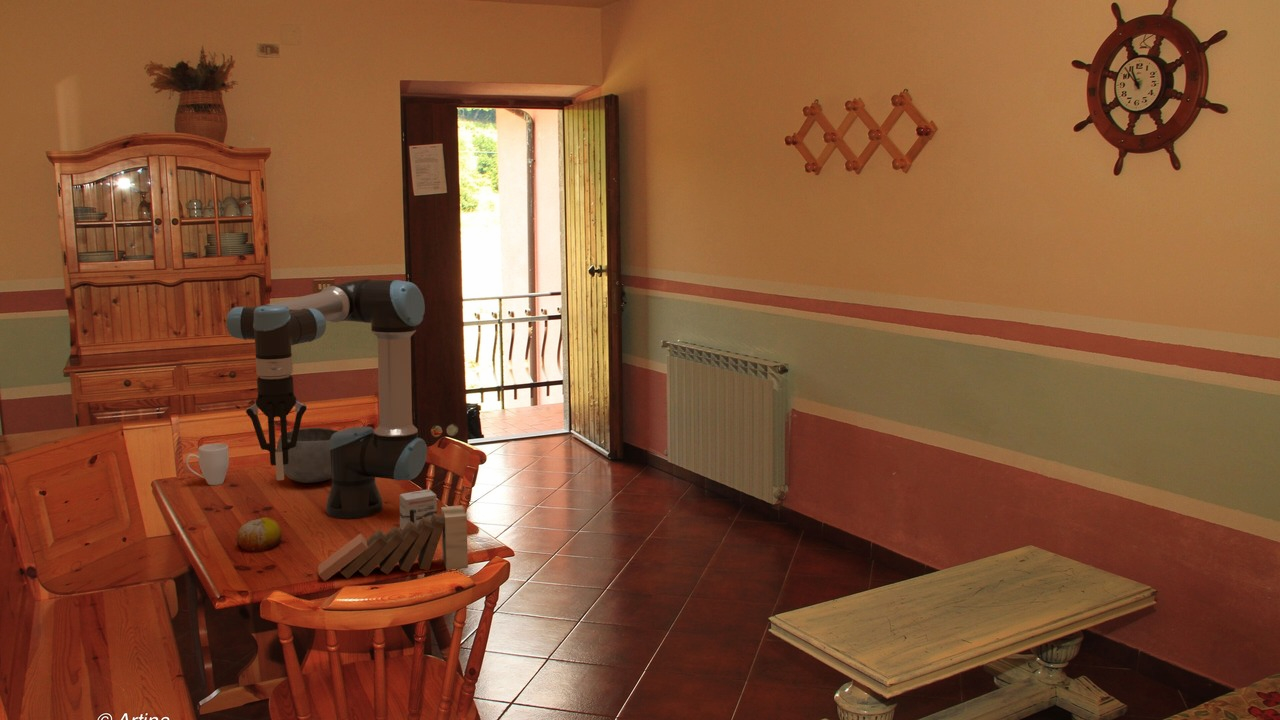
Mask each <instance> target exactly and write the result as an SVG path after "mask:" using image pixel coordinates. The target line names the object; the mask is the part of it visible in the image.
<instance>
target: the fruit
mask: <svg viewBox="0 0 1280 720" xmlns="http://www.w3.org/2000/svg"><path fill="white" fill-rule="evenodd" d="M282 538H283V533H282V529H281V526H280V525H279V523H278V522H277V521H275V520H274V519H273V518H271V517H265V516H264V517H260V518H257V519H253V520H252V519H251V520H248V521H247V522H246V523H245V524H242V525H241V526H240V528H239V529H238V531H237V532H236V537H235V539H236V542H237V546H239V547H240V548H242V550H243V551H247V552H250V553H252V552H264V551H268V550H271V549H274V548H275V547H277V546H279V545H280V544H281V542H282Z"/></svg>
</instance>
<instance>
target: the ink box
mask: <svg viewBox="0 0 1280 720" xmlns="http://www.w3.org/2000/svg"><path fill="white" fill-rule="evenodd" d="M437 500H438V499H437V494H436V493H435V492H434V491H433V490H431V489H428V488H427V489H423V490H418V491H410V492H405V493H400V494H399V529H400V530H401V531H402V530H403V529H404V528H405V526H406V525H407V524H408V523H409V521H411V522H413V523H415V524H416V525H418V524H419V522H420V520H421V518H422V517H425V518H427V519H430V520H431V518H432V515H433V513H435V514H438V504H437V503H438V501H437Z"/></svg>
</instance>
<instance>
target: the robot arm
mask: <svg viewBox="0 0 1280 720" xmlns="http://www.w3.org/2000/svg"><path fill="white" fill-rule="evenodd" d="M425 310H426V306H425V298H424V295H423V294H422V291H421V289H419V287H418V285H416V284H415V283H413V282H411V281H404V280H399V279H394V280H393V279H391V280H390V279H370V278H369V279H368V278H367V279H366V278H364V279H363V278H361V279H354V280H350V281H346V282H342V283H338V284H334V285H329V286H326V287H324V288H322V289H321V291H319V292H316V293H311V294H306V295H302V296H297V297H294V298H290V299H285V300H280V301H275V302H270V303H267V304H262V305H261V304H260V305H257V306H245V305H244V306H236V307H233V308H231V310H229V312H228V313H227V316H226V321H225V323H226V329H227V331H228V332H227V333H229V335H230V336H231V337H232V338H235V339H240V340H244V341H247V340H251V341H253V340H254V344H255V369H256V371H255V372H256V376H258V377H257V379H256V386H257V390H256V391H257V398H256V400H255V403H254V404H253V405H250V406H248V407H246V410H245V413H246V414H247V416H248V417H249V418H250V419H251V422H252V425H253V426H252V427H253V428H254V431H255V434H256V437H257V441H258V443H259V447H260V449H261V450H262V451H264V450H265V451H268V452H269V462H270V465H271V466H275V472H276V481H284V479H285V474H284V464H288V462H289V458H288V450H289V449H291V448H294V447H296V443H297V438H298V433H299V429H301V427H300V426H301V422H302V419H303V416H304V414H305V412H306V411H307V409H308V408H307V406H308V405H307V404H306V403H302V402H300V401H298V400H297V397H296V396H295V392H294V390H295V389H294V377H293V376H292V374H293V372H294V369H293V355H292V354H293V353H292V346H295V345H300V344H304V343H310V342H314V341H315V340H318V339H320V338H321V337H322V336H323V335H324V334H325V332H326V329H327V322H330V323H339V322H357V323H366V324H370V325H371V326H370V327H371V333H372V334H373V335H374V336H375V337H376V338H377V369H378V370H377V371H378V372H377V374H378V375H377V376H378V379H377V381H378V410H379V411H378V412H379V413H378V415H379V418H378V421H379V422H378V423H379V424H378V426H377V427H376V428H375V429H374V428H373V427H371V426H355V427H350V428H344V429H341V430H337V431H338V432H335V433H334V434H333V435H332V436H331V438H330V456H331V475H332V478H331V486H330V490H329V494H328V498H327V500H326V504H325V505H326V506H325V509H326V514H327V515H328V516H330V517H333V518H337V519H346V520H347V519H349V520H350V519H360V518H366V517H369V516H373V515H376V514H378V513H380V512H381V511H382V510H383V508H384V505H383V504H384V503H383V498H382V495H381V492H380V491H379V490H380V489H379V488H378V486H377V483H376V478H379V479H389V480H394V481H398V482H399V481H412V480H414V479H415V478H417V477H418V476H419V475H420V473H421V472H422V470H423V468H424V467H425V465H426V464H425V463H426V461H427V454H428V446H427V444H426V441H425V440H424V439H423V438H421V437H419V430H418V428H417V427H416V426H415V425H414V424H413V411H412V410H413V408H412V407H413V406H412V402H413V401H412V349H411V346H412V344H411V343H412V342H411V341H412V340H411V337H412V336H413V335H414V334H415V333H416V332H417V326H419V325H420V324H421V323H422V322H423V320H424V315H425V312H426V311H425ZM294 407H295V409H294V411H295V412H296V413H295V420H294V424H293V425H294V426H293V429H292V431H293V433H292V438H291V441H290V442H288V438H287V432H288V422H287V416H288V415H289V414H290V412H291V411H292V410H293V408H294ZM259 410H260V412H262V414H264V416H265V417H267V423H268V424H267V427H268V428H267V429H268V443H267V440H266V437H265V434H264V431H263V428H262V425H261V421H260V418H259V416H258V414H259ZM275 418H279V419H280V420H279V422H280V436H281V441H282V449H277V443H276V427H275V424H276V423H275Z"/></svg>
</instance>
